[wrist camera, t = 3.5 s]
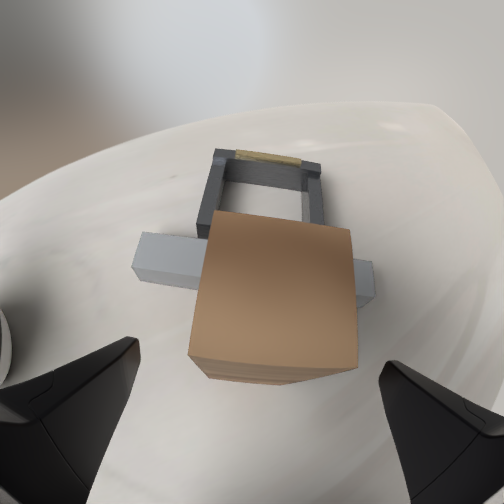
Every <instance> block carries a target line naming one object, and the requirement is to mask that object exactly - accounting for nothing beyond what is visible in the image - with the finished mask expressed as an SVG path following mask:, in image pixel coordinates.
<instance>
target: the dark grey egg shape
mask: <svg viewBox="0 0 504 504" xmlns="http://www.w3.org/2000/svg"><path fill="white" fill-rule="evenodd" d="M11 356H12V343H11V335H10V330H9V326H8V323H7V320H6V318H5V316H4V314H3V312H2V310H1V308H0V385H1V384H2V383H3V381H4V380H5V378H6V376H7V373H8V371H9V367H10V363H11Z"/></svg>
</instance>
